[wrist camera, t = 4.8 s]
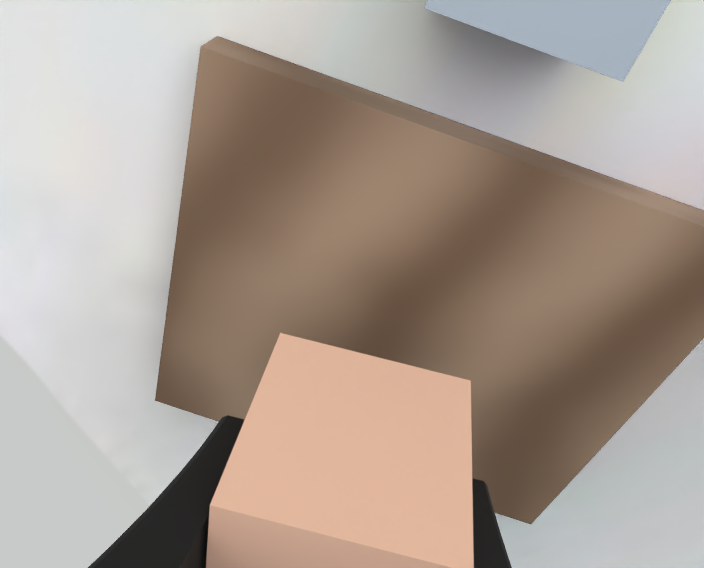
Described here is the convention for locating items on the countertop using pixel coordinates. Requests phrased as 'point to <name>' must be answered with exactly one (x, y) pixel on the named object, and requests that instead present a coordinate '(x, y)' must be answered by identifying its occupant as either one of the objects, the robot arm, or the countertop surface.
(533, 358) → the walnut board
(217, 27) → the countertop surface
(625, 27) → the slate block
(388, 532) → the terracotta block
